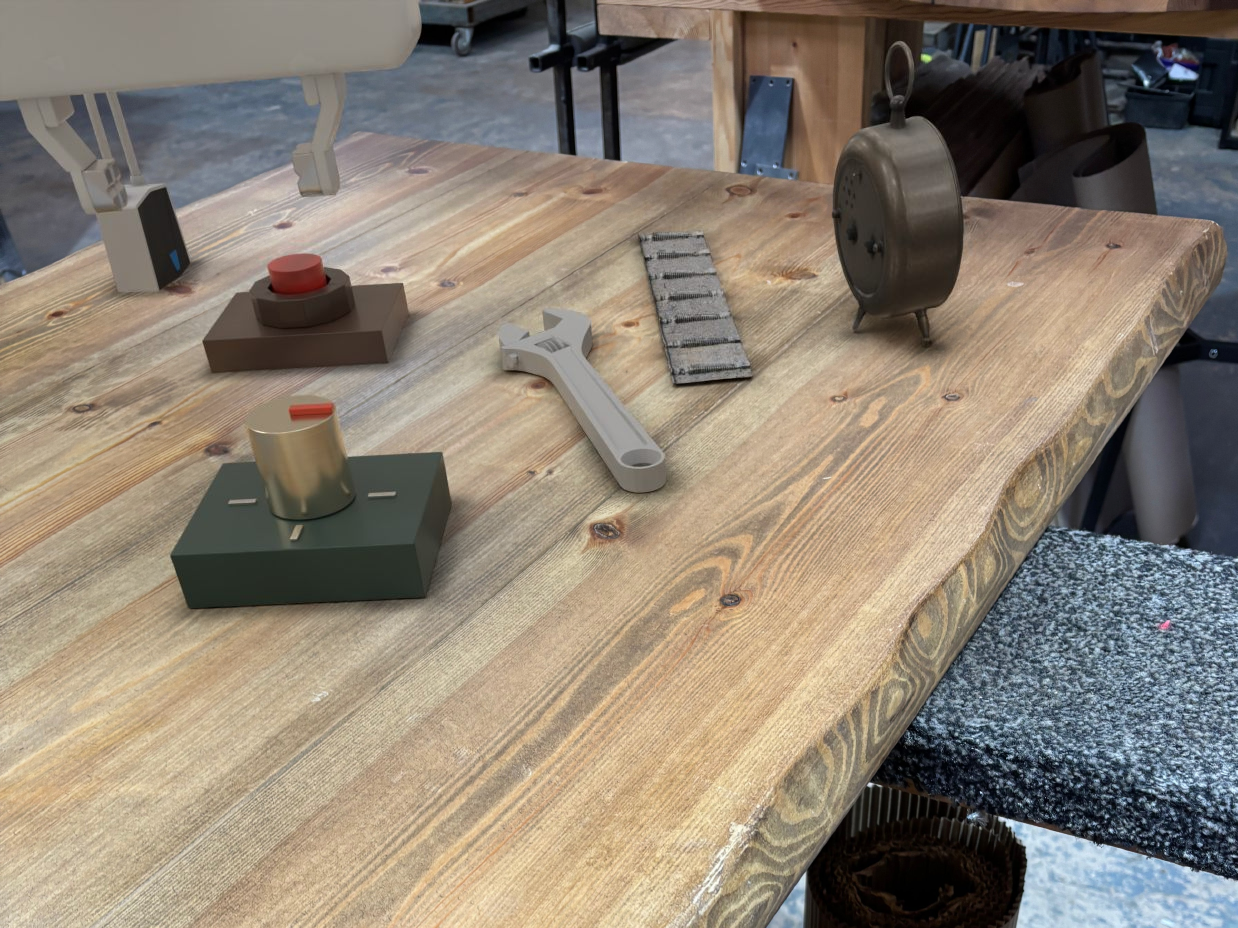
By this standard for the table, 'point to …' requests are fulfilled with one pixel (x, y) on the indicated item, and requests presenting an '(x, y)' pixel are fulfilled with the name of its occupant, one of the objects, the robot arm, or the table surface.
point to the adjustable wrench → (586, 395)
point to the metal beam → (692, 309)
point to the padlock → (139, 221)
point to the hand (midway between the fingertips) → (214, 201)
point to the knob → (301, 456)
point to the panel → (316, 538)
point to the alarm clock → (898, 214)
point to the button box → (307, 326)
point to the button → (297, 274)
